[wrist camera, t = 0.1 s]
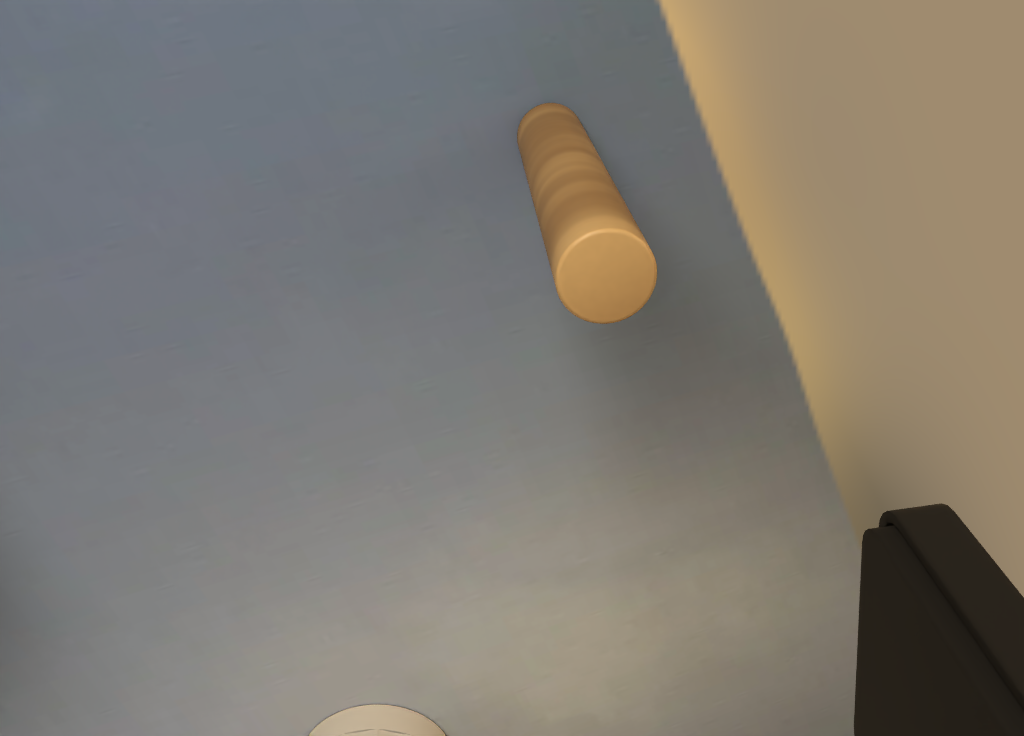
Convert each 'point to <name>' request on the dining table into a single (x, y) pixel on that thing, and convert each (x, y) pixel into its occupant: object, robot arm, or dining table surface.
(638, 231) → the stick
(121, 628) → the dining table surface
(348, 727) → the cup
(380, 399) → the dining table surface
